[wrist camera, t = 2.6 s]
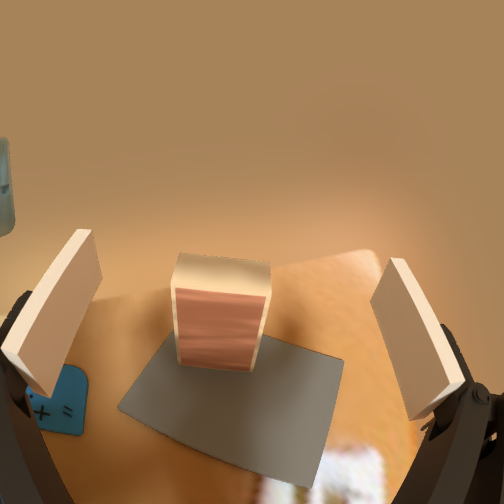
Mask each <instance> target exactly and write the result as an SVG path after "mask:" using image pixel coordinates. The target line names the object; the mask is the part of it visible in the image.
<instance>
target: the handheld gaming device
mask: <svg viewBox="0 0 504 504" xmlns="http://www.w3.org/2000/svg"><path fill="white" fill-rule="evenodd" d="M87 392H88V380H87V378H86V376H85V374H84V373H83V371H82V370H81V369H79V368H77V367H75V366H71V365H63V367H62V369H61V372H60V374H59V377H58V380H57V382H56V385H55V388H54V391H53V393H52V396H51V398H48V397H45V396H42V395H39V394H36V393H34V392H33V390H32V389H31V388H30V387H29V386H27V389H26V393H27V395H28V397H29V400H30V403H31V406H32V409H33V412H34V415H35V418H36V421H37V424H38V426H39V429H42V430H47V431H52V432H58V433H64V434H70V435H77V436H80V435H82V434H83V431H84V419H85V409H86V401H87Z"/></svg>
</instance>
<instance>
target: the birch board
mask: <svg viewBox="0 0 504 504" xmlns="http://www.w3.org/2000/svg"><path fill="white" fill-rule="evenodd" d="M170 285H171V299H172V311H173V322H174V332H175V342H176V351H177V360H178V365H182V366H190V367H198V368H207V369H217V370H228V371H241V372H253V369H254V365H255V361H256V357H257V353H258V349H259V345H260V341H261V337H262V333H263V329H264V324H265V320H266V316H267V312H268V307H269V303H270V299H271V295H272V289H271V273H270V262H265V261H255V260H246V259H236V258H226V257H215V256H206V255H197V254H187V253H179V256H178V260H177V263H176V266H175V270H174V273H173V276H172V279H171V283H170Z"/></svg>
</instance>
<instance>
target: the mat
mask: <svg viewBox="0 0 504 504" xmlns="http://www.w3.org/2000/svg"><path fill="white" fill-rule="evenodd" d="M343 366H344V361H343V360H340V359H336V358H333V357H330V356H327V355H323V354H320V353H317V352H314V351H311V350H307V349H304V348H301V347H298V346H295V345H292V344H289V343H286V342H283V341H280V340H277V339H274V338H272V337H269V336H266V335H263V334H262V337H261V341H260V345H259V349H258V353H257V357H256V361H255V365H254V369H253V372H241V371H228V370H217V369H207V368H198V367H190V366H182V365H178V360H177V351H176V342H175V332H174V329H173V330H172V332H171V333H170V334H169V336H168V337H167V339H166V340H165V341H164V343H163V344H162V345H161V347H160V348H159V349H158V351H157V352H156V354H155V355H154V356H153V358H152V359H151V360H150V362H149V363H148V365H147V366H146V367H145V369H144V370H143V371H142V373H141V374H140V376H139V377H138V378H137V380H136V381H135V383H134V384H133V385H132V387H131V388H130V390H129V391H128V392H127V394H126V395H125V396H124V398H123V399H122V401H121V402H120V403H119V405H118V406H117V408H118V409H119V410H120V411H122V412H124V413H125V414H127V415H129V416H131V417H132V418H134V419H136V420H138V421H139V422H141V423H143V424H145V425H147V426H148V427H150V428H152V429H154V430H156V431H158V432H160V433H162V434H164V435H166V436H168V437H170V438H172V439H174V440H176V441H178V442H180V443H182V444H184V445H186V446H188V447H191V448H193V449H195V450H197V451H200V452H202V453H204V454H207V455H209V456H211V457H214V458H216V459H219V460H221V461H224V462H226V463H229V464H232V465H234V466H237V467H240V468H243V469H245V470H248V471H251V472H254V473H257V474H260V475H263V476H266V477H270V478H273V479H276V480H280V481H283V482H287V483H290V484H294V485H298V486H302V487H306V488H312V486H313V483H314V480H315V476H316V473H317V470H318V467H319V463H320V460H321V457H322V453H323V450H324V446H325V442H326V439H327V435H328V431H329V427H330V424H331V420H332V416H333V411H334V407H335V403H336V399H337V394H338V390H339V385H340V380H341V376H342V371H343Z"/></svg>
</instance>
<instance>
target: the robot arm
mask: <svg viewBox="0 0 504 504" xmlns="http://www.w3.org/2000/svg"><path fill="white" fill-rule="evenodd" d="M14 225H15V211H14V202H13V190H12V180H11V167H10V151H9V142H8V139H7V138H5V137H2V138H0V237H2V236H4V235H7V234H8V233H10V232H11V231H12V229H13V228H14ZM101 280H102V274H101V270H100V266H99V261H98V257H97V252H96V248H95V242H94V237H93V233H92V230H88V229H77V230H76V231H75V233H74V234H73V235H72V237H71V238H70V239H69V240H68V242H67V243H66V245H65V246H64V247H63V249H62V250H61V251H60V253H59V254H58V255H57V257H56V258H55V260H54V261H53V263H52V264H51V265H50V267H49V268H48V270H47V271H46V273H45V274H44V276H43V277H42V279H41V280H40V282H39V283H38V285H37V286H36V288H35V289H34V291H28V290H27V291H26V292H25V293H24V294H23V295H22V296H21V297H19V298H18V299H17V301H16V303H15V304H14V306H13V307H12V311H10V312H9V314H8V316H7V319H5V321H4V322H3V324H2V326H1V328H0V495H1V498H2V500H3V503H4V504H74V502H73V500H72V499H71V497H70V495H69V493H68V491H67V489H66V487H65V485H64V484H63V482H62V480H61V478H60V476H59V473H58V471H57V469H56V467H55V465H54V463H53V461H52V458H51V456H50V454H49V451H48V449H47V447H46V444H45V442H44V439H43V437H42V434H41V432H40V429H39V426H38V424H37V421H36V418H35V415H34V412H33V409H32V406H31V403H30V400H29V397H28V395H27V393H26V389H27V386H29V387H30V388H31V389H32V390H33V392H34V393H36V394H39V395H42V396H45V397H48V398H51V396H52V393H53V391H54V388H55V385H56V382H57V380H58V377H59V374H60V372H61V369H62V367H63V364H64V362H65V359H66V357H67V354H68V352H69V349H70V347H71V345H72V342H73V340H74V338H75V335H76V333H77V331H78V329H79V326H80V324H81V322H82V320H83V318H84V315H85V313H86V311H87V309H88V307H89V305H90V303H91V301H92V299H93V296H94V294H95V292H96V290H97V288H98V286H99V284H100V282H101ZM370 303H371V306H372V308H373V311H374V314H375V316H376V319H377V322H378V325H379V327H380V330H381V333H382V336H383V339H384V341H385V344H386V347H387V350H388V353H389V356H390V359H391V362H392V365H393V368H394V371H395V374H396V378H397V381H398V384H399V387H400V391H401V394H402V397H403V401H404V404H405V408H406V411H407V415H408V418H409V421H413V420H418V419H423V418H425V417H426V416H428V415H429V414H430V413H431V412H432V411H433V412H434V416H435V417H434V418H432V419H431V420H430V421H429V422H428V423H426V424H425V425H424V426H423V427H422V428H421V431H423V430H424V429H426V428H427V427H428V426H429V427H428V429H427V431H426V432H425V433H426V434H425V437H424V439H423V442H422V444H421V446H420V448H419V450H418V453H417V455H416V457H415V459H414V461H413V463H412V466H411V468H410V470H409V472H408V474H407V476H406V478H405V480H404V481H403V483H402V485H401V487H400V489H399V491H398V493H397V494H396V496H395V498H394V500H393V501H392V503H391V504H504V393H502V394H501V395H496V394H490V393H489V391H488V389H487V388H486V387H485V386H484V385H483V384H481V383H478V382H477V383H475V382H474V380H473V378H472V376H471V373H470V371H469V369H468V367H467V364H466V362H465V360H464V358H463V356H462V353H460V349H459V347H458V345H456V341H455V339H454V337H453V335H452V333H451V332H450V331H449V330H448V328H447V327H446V326H445V325H444V324H439V322H438V320H437V318H436V316H435V314H434V312H433V310H432V308H431V306H430V305H429V303H428V301H427V299H426V297H425V295H424V293H423V292H422V290H421V288H420V286H419V285H418V283H417V281H416V279H415V277H414V276H413V274H412V272H411V270H410V269H409V267H408V265H407V264H406V262H405V260H404V259H398V258H390V259H389V262H388V264H387V266H386V269H385V271H384V273H383V275H382V277H381V279H380V281H379V284H378V286H377V288H376V290H375V292H374V294H373V296H372V298H371V300H370ZM496 432H497V438H496V439H495V440H493V441H492V437H491V436H492V435H493V434H494V433H496ZM1 498H0V504H2V502H1Z"/></svg>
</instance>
